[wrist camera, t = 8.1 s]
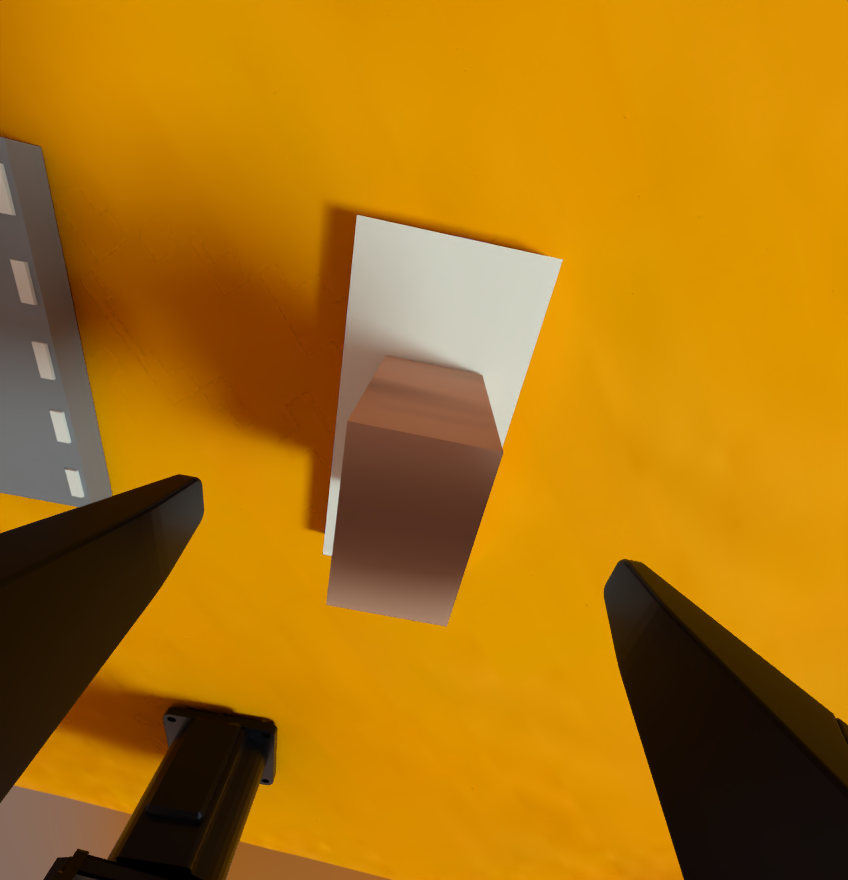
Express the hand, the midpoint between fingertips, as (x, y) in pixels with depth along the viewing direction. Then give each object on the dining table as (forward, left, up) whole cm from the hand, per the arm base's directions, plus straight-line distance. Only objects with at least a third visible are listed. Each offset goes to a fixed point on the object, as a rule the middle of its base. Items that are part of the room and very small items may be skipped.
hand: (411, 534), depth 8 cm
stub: (0, 0, -6) cm, 6 cm away
